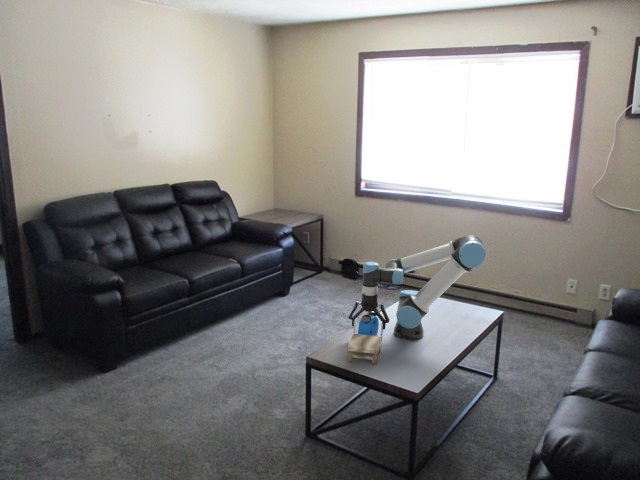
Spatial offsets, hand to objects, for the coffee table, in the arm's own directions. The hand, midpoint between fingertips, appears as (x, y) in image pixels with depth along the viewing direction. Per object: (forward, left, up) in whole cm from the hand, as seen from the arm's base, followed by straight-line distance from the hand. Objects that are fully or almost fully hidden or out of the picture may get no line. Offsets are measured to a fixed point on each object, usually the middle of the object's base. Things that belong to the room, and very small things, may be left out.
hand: (368, 333), depth 268 cm
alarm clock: (0, 0, -4) cm, 4 cm away
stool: (-1, +18, -4) cm, 18 cm away
